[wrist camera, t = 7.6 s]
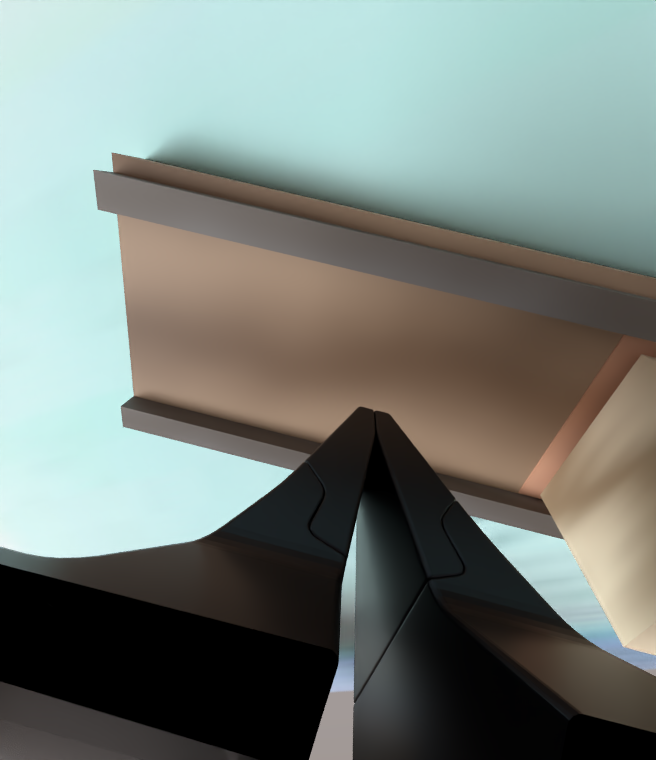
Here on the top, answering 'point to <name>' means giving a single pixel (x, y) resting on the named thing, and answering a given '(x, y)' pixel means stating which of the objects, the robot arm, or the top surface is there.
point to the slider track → (364, 333)
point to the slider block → (615, 506)
